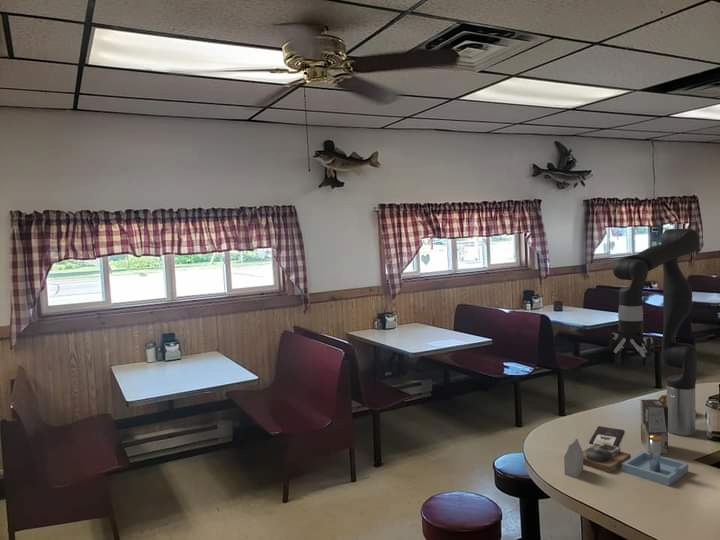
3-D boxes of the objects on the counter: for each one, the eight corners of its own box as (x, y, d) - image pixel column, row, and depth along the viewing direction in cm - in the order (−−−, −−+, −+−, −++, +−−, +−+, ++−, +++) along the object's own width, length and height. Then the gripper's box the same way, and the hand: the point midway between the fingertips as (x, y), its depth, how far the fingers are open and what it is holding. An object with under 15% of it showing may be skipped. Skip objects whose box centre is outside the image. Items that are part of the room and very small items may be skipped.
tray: (642, 458, 184) (642, 451, 183) (688, 471, 173) (688, 464, 172) (622, 471, 175) (621, 463, 175) (668, 486, 164) (668, 478, 164)
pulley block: (596, 449, 192) (595, 435, 192) (630, 460, 183) (630, 445, 182) (574, 461, 183) (574, 447, 183) (609, 473, 174) (609, 457, 174)
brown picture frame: (623, 429, 208) (616, 446, 193) (624, 432, 208) (616, 449, 193) (598, 426, 212) (589, 442, 197) (598, 428, 213) (589, 444, 198)
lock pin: (652, 466, 176) (652, 433, 175) (662, 469, 173) (662, 435, 172) (647, 469, 174) (647, 435, 173) (658, 473, 171) (658, 438, 170)
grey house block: (583, 469, 177) (582, 439, 177) (576, 477, 172) (575, 446, 171) (571, 466, 180) (571, 437, 179) (564, 474, 174) (564, 443, 174)
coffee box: (668, 454, 186) (668, 407, 185) (648, 453, 187) (648, 407, 186) (659, 443, 195) (659, 398, 194) (640, 442, 196) (640, 398, 195)
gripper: (657, 318, 183) (657, 366, 184) (615, 314, 194) (615, 360, 195) (647, 322, 178) (647, 371, 179) (604, 317, 189) (605, 364, 190)
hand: (631, 365), depth 187 cm, fingers open, 8 cm apart
